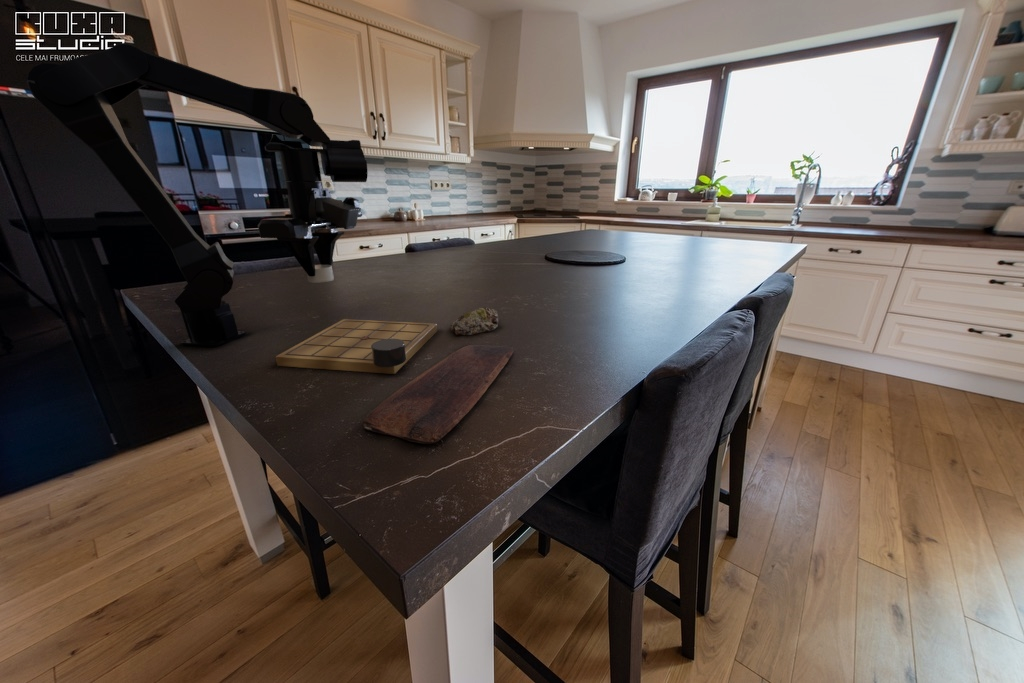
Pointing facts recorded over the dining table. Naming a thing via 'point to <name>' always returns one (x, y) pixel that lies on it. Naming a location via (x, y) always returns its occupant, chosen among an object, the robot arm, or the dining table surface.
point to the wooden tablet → (439, 395)
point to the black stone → (388, 352)
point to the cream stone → (321, 274)
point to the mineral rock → (476, 322)
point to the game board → (355, 345)
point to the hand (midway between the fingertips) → (319, 273)
